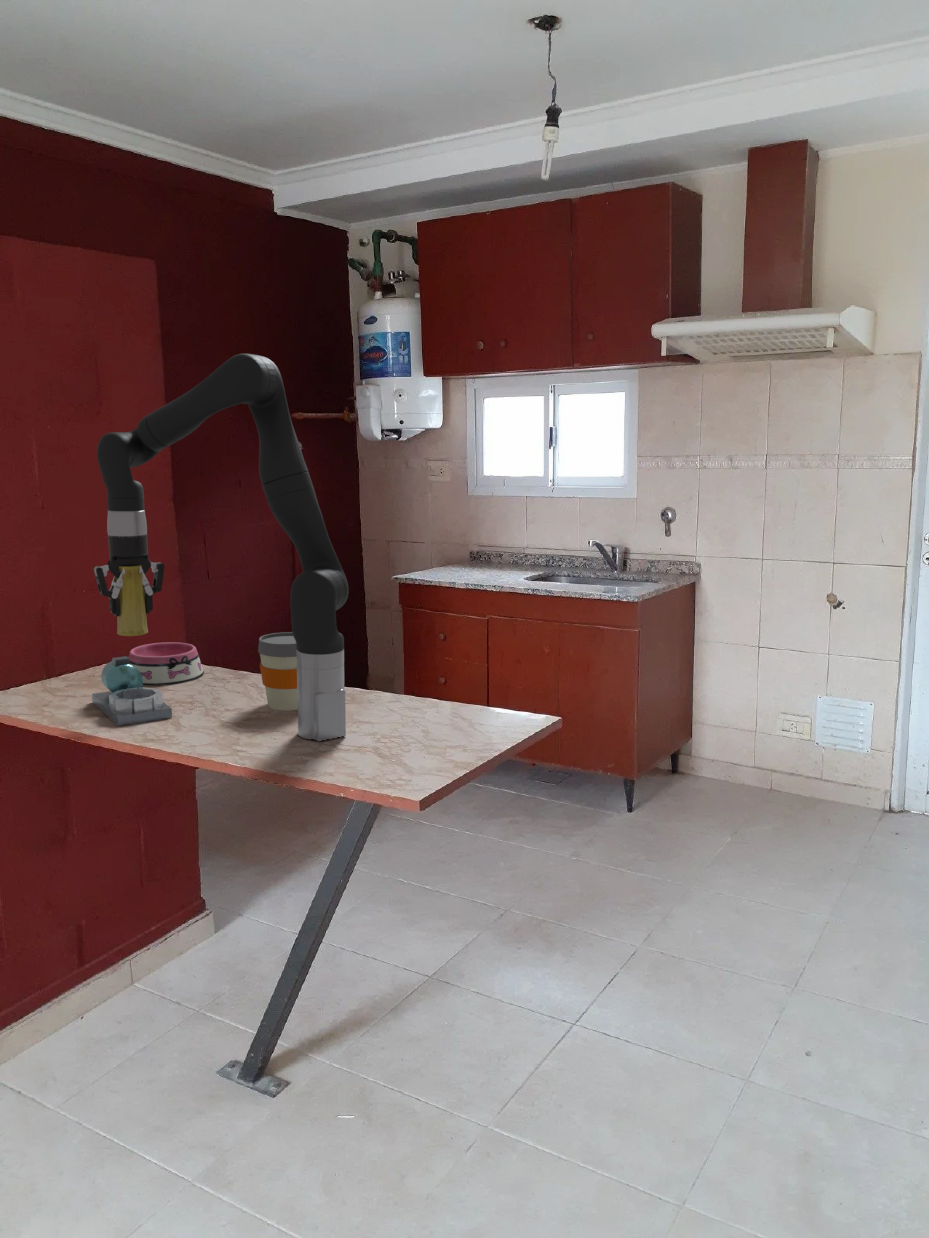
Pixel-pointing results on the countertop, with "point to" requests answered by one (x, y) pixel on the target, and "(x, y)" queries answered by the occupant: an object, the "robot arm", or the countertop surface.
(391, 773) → the countertop surface
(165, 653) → the dog bowl
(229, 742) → the countertop surface
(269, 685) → the reusable coffee cup
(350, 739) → the countertop surface
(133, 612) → the vase
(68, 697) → the countertop surface
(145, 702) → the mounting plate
